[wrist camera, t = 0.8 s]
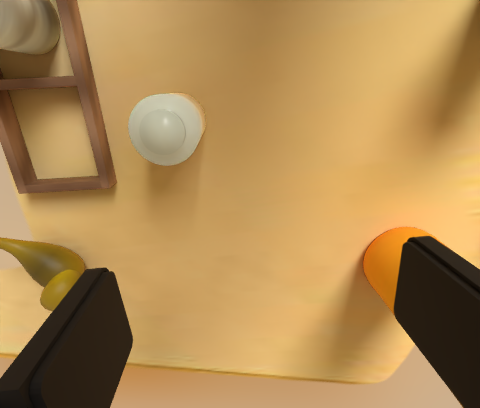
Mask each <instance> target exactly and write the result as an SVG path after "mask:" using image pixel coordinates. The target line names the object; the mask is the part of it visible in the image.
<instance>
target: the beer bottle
mask: <svg viewBox="0 0 480 408" xmlns="http://www.w3.org/2000/svg"><path fill="white" fill-rule="evenodd" d="M419 236H431V237H433V238H435V237H434V236H432V235H431V234H429V233H427V232H425V231H423V230H420V229H417V228H413V227H399V228H395V229H392V230H389V231H387V232H385V233H383V234H381V235H380V236H379V237H377V238H376V239H375V240H374V241H373V242H372V243H371V244H370V246H369V247H368V249H367V251H366V253H365V256H364V260H363V268H364V273H365V275H366V277H367V279H368V281H369V283H370V284H371V286H372V287H373V288H374V289H375V291H376V292H377V293H378V294H379V296H380V297H381V298H382V299H383V301H384V302H385V303H386V305H387V306H388V307H389V309H390V310H391V311H392V313H393V314H394V301H395V294H396V287H397V280H398V273H399V266H400V259H401V252H402V246H403V244H404V243H405V242H407V240H408V239H409V238H410V237H419ZM435 239H436V240H437V241H439V240H438V239H437V238H435ZM439 242H440V241H439ZM440 243H442V242H440ZM442 244H443V243H442ZM443 245H444V244H443ZM446 247H447V246H446ZM453 252H454V251H453ZM459 403H460V402H459ZM460 404H461V403H460ZM462 407H463V406H462ZM463 408H464V407H463Z"/></svg>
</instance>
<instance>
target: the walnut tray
mask: <svg viewBox="0 0 480 408" xmlns="http://www.w3.org/2000/svg"><path fill="white" fill-rule="evenodd" d="M56 2H57V6H58V10H59V14H60V18H61V22H62V27H63V31H64V35H65V39H66V43H67V47H68V51H69V55H70V59H71V64H72V68H73V72H74V76H62V77H42V78H23V79H4V78H3V75H2V72H1V69H0V142H1V145H2V147H3V150H4V153H5V156H6V159H7V161H8V164H9V167H10V170H11V172H12V175H13V178H14V181H15V183H16V186H17V189H18V192H19V194H23V193H39V192H56V191H72V190H88V189H105V188H111V187H112V186H113V185H114V184H115V183H117V180H116V176H115V171H114V167H113V162H112V158H111V153H110V149H109V144H108V139H107V135H106V130H105V126H104V121H103V117H102V112H101V108H100V103H99V99H98V94H97V90H96V85H95V81H94V76H93V71H92V67H91V62H90V58H89V53H88V49H87V44H86V40H85V35H84V31H83V26H82V22H81V17H80V13H79V8H78V4H77V0H56ZM59 35H60V23H59V19H58V15H57V13H56V11H55V9H54V7H53V5H52V4H51V3H50V1H49V0H0V49H5V50H10V51H16V52H22V53H27V54H33V55H40V54H45V53H47V52H49V51H50V50H52V49H53V48H54V47H55V45H56V44H57V42H58V39H59ZM58 87H77V88H78V92H79V96H80V100H81V105H82V109H83V113H84V117H85V121H86V125H87V129H88V133H89V137H90V142H91V146H92V150H93V154H94V158H95V162H96V166H97V170H98V174H99V176H90V177H73V178H57V179H40V180H37V178H36V175H35V172H34V169H33V166H32V163H31V160H30V157H29V154H28V151H27V148H26V145H25V142H24V139H23V136H22V133H21V130H20V127H19V124H18V121H17V118H16V115H15V112H14V109H13V105H12V102H11V99H10V96H9V93H8V90H19V89H38V88H58Z"/></svg>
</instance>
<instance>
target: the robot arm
mask: <svg viewBox="0 0 480 408" xmlns="http://www.w3.org/2000/svg"><path fill="white" fill-rule="evenodd" d="M394 315H395V317H396V319H397V321H398V322H399V323H400V325H401V326H402V327H403V329H404V330H405V331H406V333H407V334H408V335H409V337H410V338H411V339H412V340H413V342H414V343H415V344H416V346H417V347H418V348H419V350H420V351H421V352H422V354H423V355H424V356H425V358H426V359H427V360H428V361H429V363H430V364H431V365H432V367H433V368H434V369H435V371H436V372H437V373H438V375H439V376H440V377H441V379H442V380H443V381H444V382H445V384H446V385H447V386H448V388H449V389H450V390H451V392H452V393H453V394H454V396H455V397H456V398H457V400H458V401H459V402H460V403H461V405H462V406H463V407H464V408H480V270H479V269H478V268H477V267H475V266H474V265H472V264H471V263H469V262H468V261H466V260H465V259H464V258H462V257H461V256H459V255H458V254H456V253H455V252H453V251H452V250H451V249H449V248H448V247H446V246H445V245H443V244H442V243H440V242H439V241H437V240H436V239H435V238H433V237H431V236H419V237H410V238H409V239H408V240H407V242H405V243H404V244H403V246H402V252H401V259H400V266H399V273H398V280H397V287H396V294H395V301H394ZM132 343H133V337H132V332H131V329H130V325H129V322H128V318H127V315H126V312H125V308H124V305H123V301H122V298H121V294H120V291H119V287H118V284H117V280H116V277H115V274H114V272H112V271H111V272H109V270H108V269H107V268H95V269H87V270H85V271H84V272H83V274H82V275H81V276H80V277H79V279H78V280H77V281H76V283H75V284H74V285H73V286H72V288H71V289H70V290H69V291H68V293H67V294H66V295H65V297H64V298H63V299H62V300H61V302H60V303H59V304H58V305H57V307H56V308H55V309H54V311H53V312H52V313H51V314H50V316H49V317H48V318H47V320H46V321H45V322H44V323H43V325H42V326H41V327H40V328H39V330H38V331H37V332H36V334H35V335H34V336H33V337H32V339H31V340H30V341H29V342H28V344H27V345H26V346H25V348H24V349H23V350H22V351H21V353H20V354H19V355H18V356H17V358H16V359H15V360H14V362H13V363H12V364H11V365H10V367H9V368H8V370H6V372H5V373H4V374H3V376H2V377H1V378H0V408H110V406H111V403H112V400H113V398H114V395H115V392H116V389H117V387H118V384H119V381H120V378H121V376H122V372H123V370H124V367H125V365H126V362H127V359H128V356H129V354H130V351H131V348H132Z"/></svg>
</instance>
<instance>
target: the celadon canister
mask: <svg viewBox="0 0 480 408" xmlns="http://www.w3.org/2000/svg"><path fill="white" fill-rule="evenodd" d="M205 126H206V117H205V113H204V110H203V108H202V106H201V105H200V103H199V102H198V101H197V100H196V99H194V98H193V97H191V96H190V95H187V94H184V93H167V94H156V95H151V96H148V97H146V98H144V99H142V100H141V101H140V102H139V103H138V104H137V105H136V106H135V107H134V109H133V110H132V112H131V114H130V118H129V123H128V130H129V136H130V139H131V142H132V144H133V146H134V147H135V149H136V150H137V151H138V153H139V154H140V155H141V156H143V157H144V158H145V159H147V160H148V161H150V162H152V163H155V164H158V165H164V166H170V165H176V164H179V163H181V162H183V161H185V160H186V159H188V158H189V157H190V156H191V155H192V153H193V152H194V151H195V149H196V147H197V145H198V143H199V141H200V139H201V137H202V135H203V133H204V130H205Z"/></svg>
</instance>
